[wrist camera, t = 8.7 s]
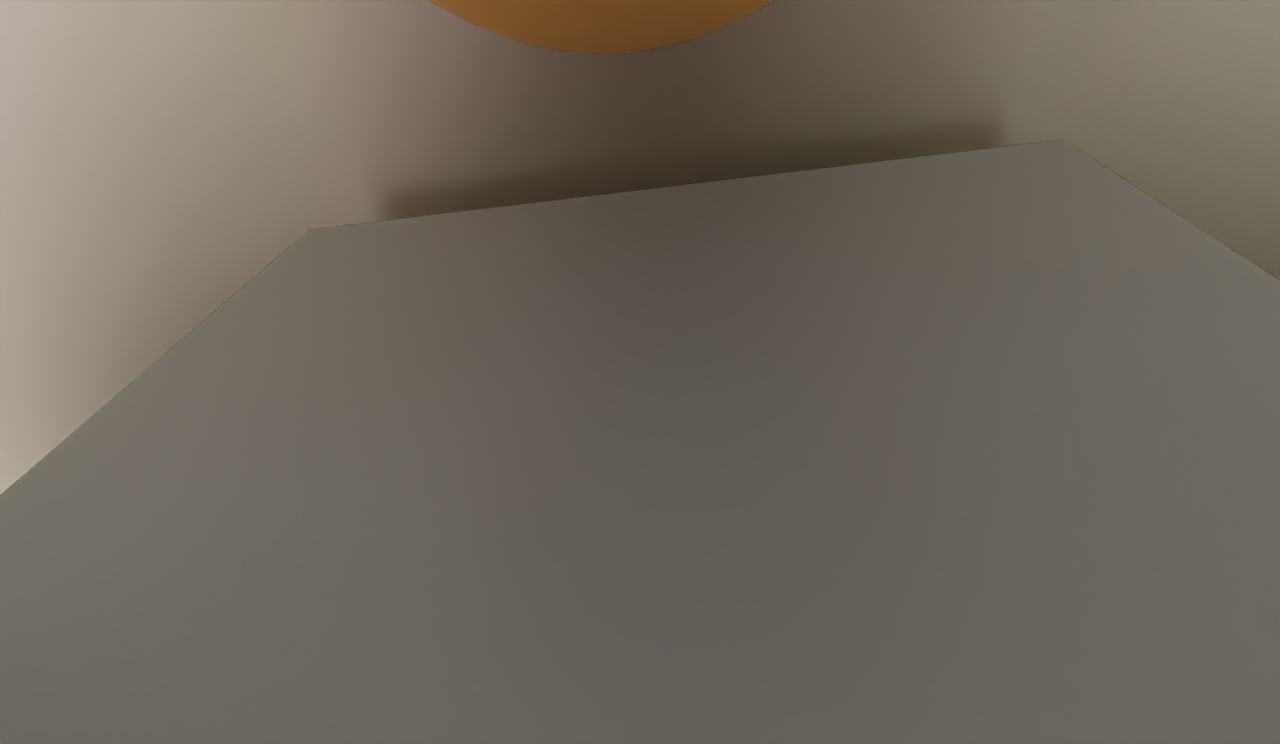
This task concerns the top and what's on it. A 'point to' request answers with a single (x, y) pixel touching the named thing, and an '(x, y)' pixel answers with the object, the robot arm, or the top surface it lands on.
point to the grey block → (685, 480)
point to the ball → (602, 21)
